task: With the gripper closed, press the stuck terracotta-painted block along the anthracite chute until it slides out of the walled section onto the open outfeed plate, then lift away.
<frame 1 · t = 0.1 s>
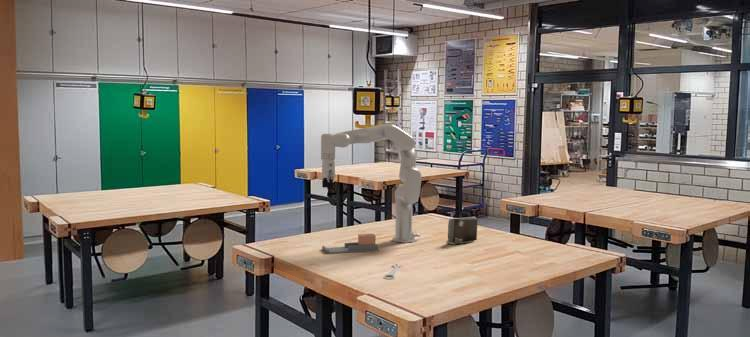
hand: (327, 188, 314), 31 cm above the table, fingers open, 9 cm apart
chute: (354, 249, 308), on the table
block: (366, 240, 310), point 4 cm above the table, slide at 0.0 cm
wrench: (393, 273, 267), on the table
radio: (461, 242, 332), on the table
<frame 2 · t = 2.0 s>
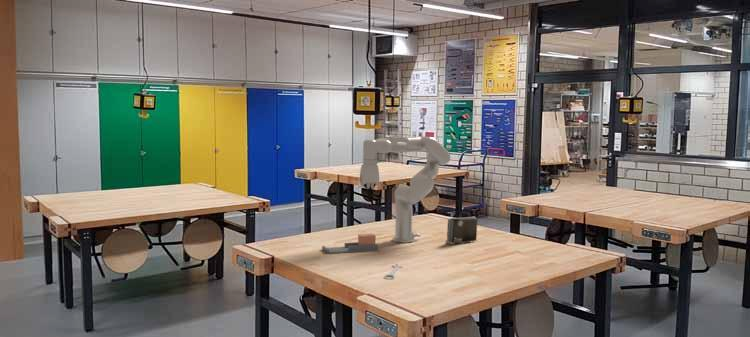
hand: (369, 195, 320), 27 cm above the table, fingers closed
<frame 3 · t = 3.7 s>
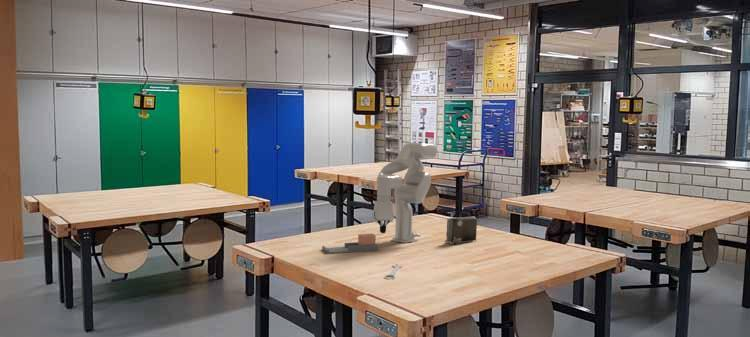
hand: (382, 232, 312), 8 cm above the table, fingers closed
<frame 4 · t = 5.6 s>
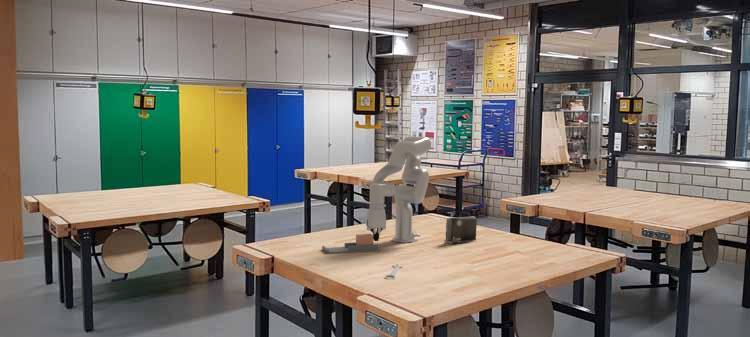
hand: (375, 240, 312), 4 cm above the table, fingers closed
block: (364, 241, 310), point 4 cm above the table, slide at 1.2 cm, touching gripper
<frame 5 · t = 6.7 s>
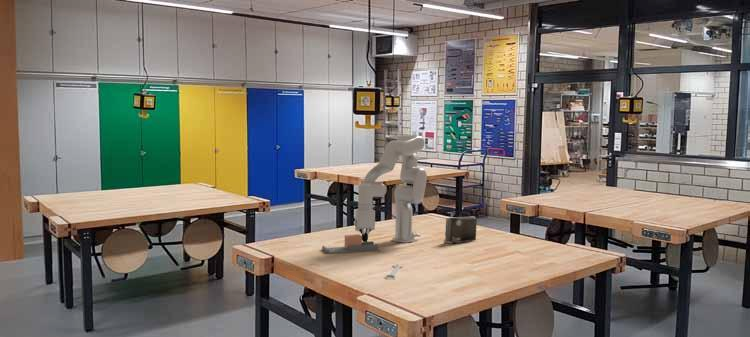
hand: (364, 241, 309), 4 cm above the table, fingers closed
block: (353, 241, 307), point 4 cm above the table, slide at 7.5 cm, touching gripper
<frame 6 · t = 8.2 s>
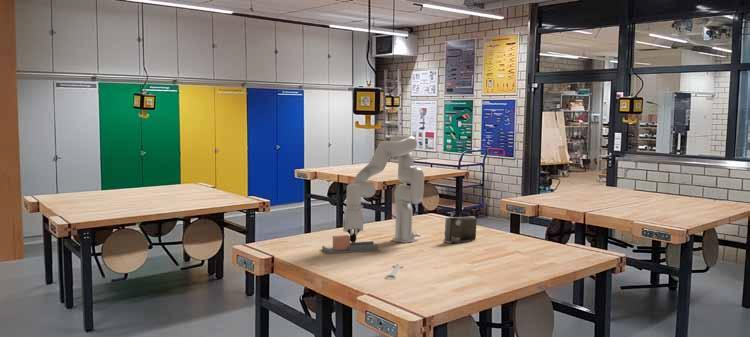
hand: (353, 242, 307), 4 cm above the table, fingers closed
block: (341, 242, 305), point 4 cm above the table, slide at 14.0 cm, touching gripper
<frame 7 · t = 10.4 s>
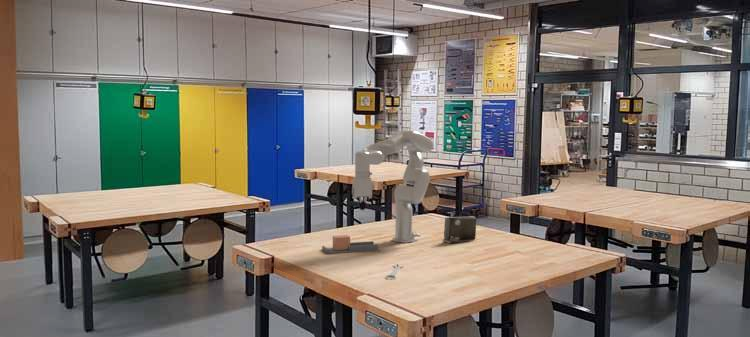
hand: (362, 209, 308), 21 cm above the table, fingers closed
block: (341, 242, 305), point 4 cm above the table, slide at 14.0 cm
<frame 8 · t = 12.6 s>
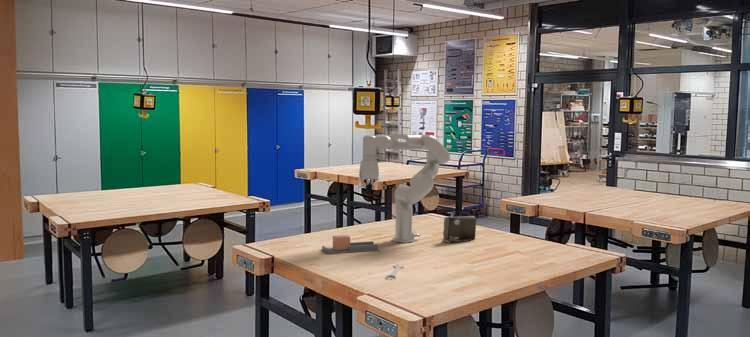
hand: (368, 191, 321), 29 cm above the table, fingers closed
at the end: block slide at 14.0 cm; the gripper is holding nothing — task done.
